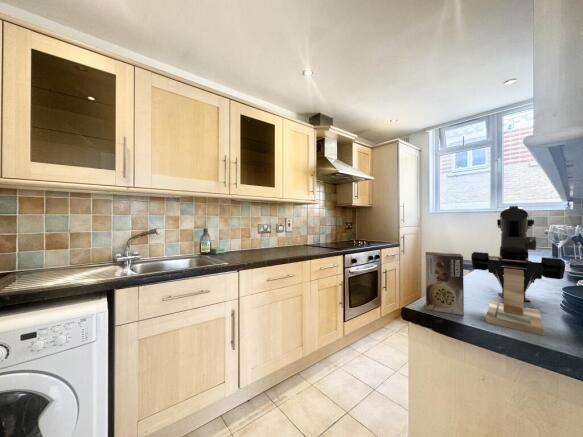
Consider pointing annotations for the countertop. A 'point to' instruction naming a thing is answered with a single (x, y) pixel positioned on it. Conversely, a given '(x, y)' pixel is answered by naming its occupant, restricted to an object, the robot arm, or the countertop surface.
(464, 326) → the countertop surface
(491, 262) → the robot arm
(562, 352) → the countertop surface
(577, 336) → the countertop surface
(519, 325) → the maple board
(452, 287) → the food box
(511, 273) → the wooden block
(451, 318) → the countertop surface
